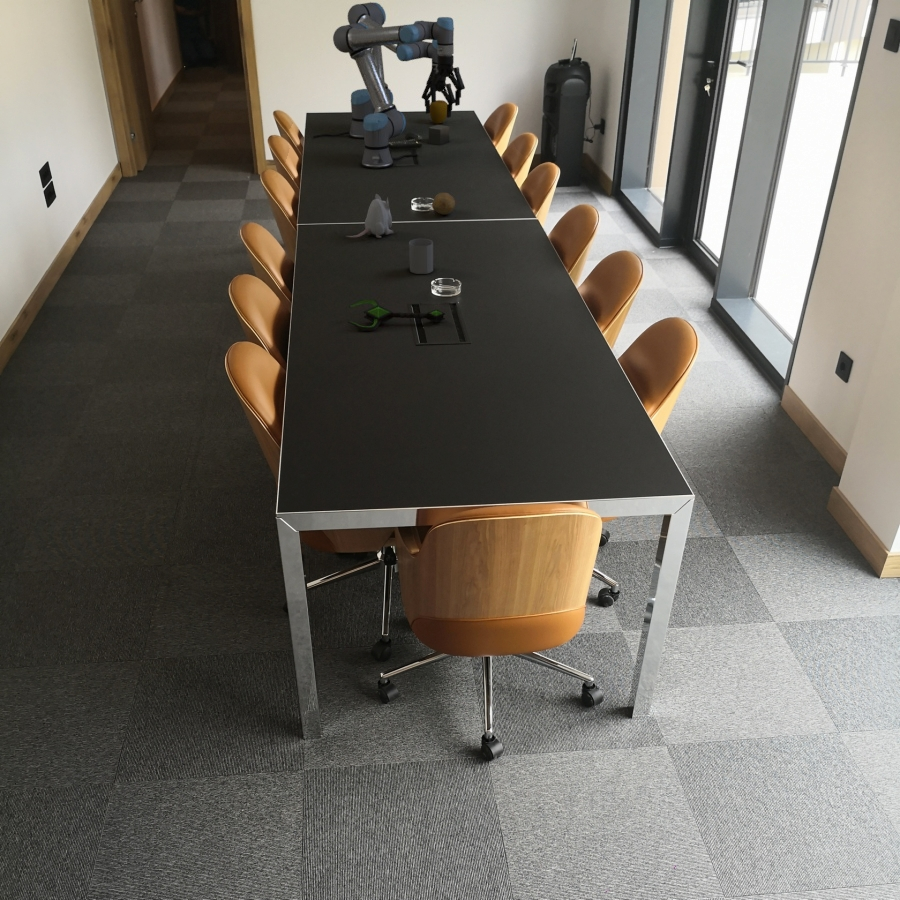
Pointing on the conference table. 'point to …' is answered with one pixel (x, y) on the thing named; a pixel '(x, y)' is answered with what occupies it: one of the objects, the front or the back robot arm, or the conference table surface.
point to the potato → (443, 203)
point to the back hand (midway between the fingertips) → (438, 115)
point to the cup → (421, 256)
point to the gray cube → (438, 134)
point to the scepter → (391, 315)
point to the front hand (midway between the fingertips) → (445, 103)
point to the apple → (438, 111)
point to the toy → (377, 219)
